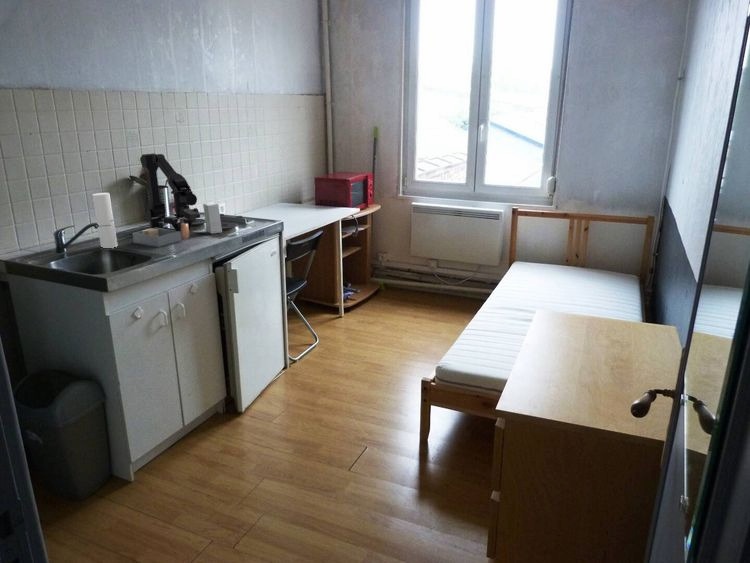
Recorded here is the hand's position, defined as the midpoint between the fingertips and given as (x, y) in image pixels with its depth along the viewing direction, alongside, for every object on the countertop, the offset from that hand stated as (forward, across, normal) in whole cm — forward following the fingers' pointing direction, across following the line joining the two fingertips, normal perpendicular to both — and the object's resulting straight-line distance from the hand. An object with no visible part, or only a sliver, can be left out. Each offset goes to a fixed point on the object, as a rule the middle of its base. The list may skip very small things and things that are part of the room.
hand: (184, 234), depth 281 cm
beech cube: (+1, -13, +8) cm, 16 cm away
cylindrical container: (+2, -30, +17) cm, 35 cm away
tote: (+2, -13, +4) cm, 14 cm away
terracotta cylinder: (+2, 0, 0) cm, 2 cm away
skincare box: (+2, +16, -4) cm, 17 cm away
